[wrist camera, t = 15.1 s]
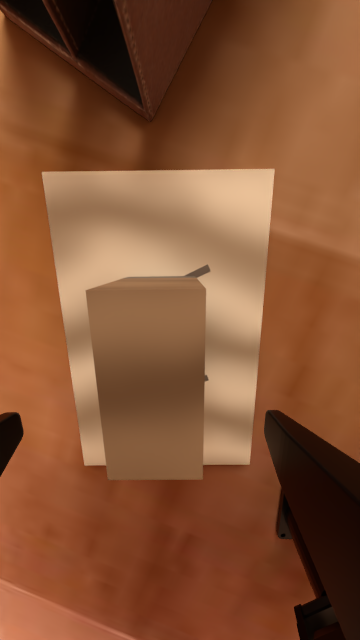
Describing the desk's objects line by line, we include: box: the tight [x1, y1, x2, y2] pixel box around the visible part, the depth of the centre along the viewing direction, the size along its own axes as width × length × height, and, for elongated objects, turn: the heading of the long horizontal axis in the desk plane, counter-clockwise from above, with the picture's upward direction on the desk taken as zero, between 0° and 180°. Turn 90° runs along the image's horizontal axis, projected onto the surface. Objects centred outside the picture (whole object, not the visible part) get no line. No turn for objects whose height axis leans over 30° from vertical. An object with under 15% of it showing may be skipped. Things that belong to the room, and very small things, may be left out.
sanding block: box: [85, 276, 206, 480], centre depth 13 cm, size 9×4×7 cm, turn 1°
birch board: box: [42, 169, 275, 465], centre depth 17 cm, size 22×14×2 cm, turn 1°
